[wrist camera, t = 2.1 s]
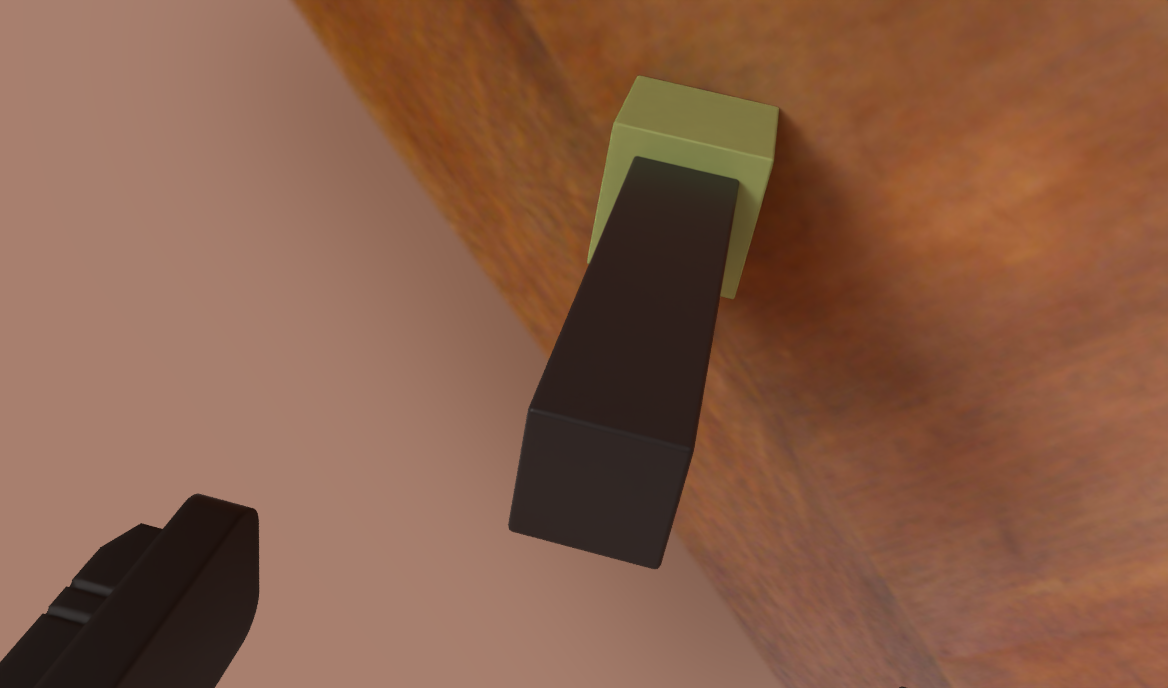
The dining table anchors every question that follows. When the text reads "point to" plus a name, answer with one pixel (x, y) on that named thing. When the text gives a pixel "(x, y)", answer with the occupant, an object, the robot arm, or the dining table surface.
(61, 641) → the robot arm
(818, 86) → the dining table surface
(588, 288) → the brush
